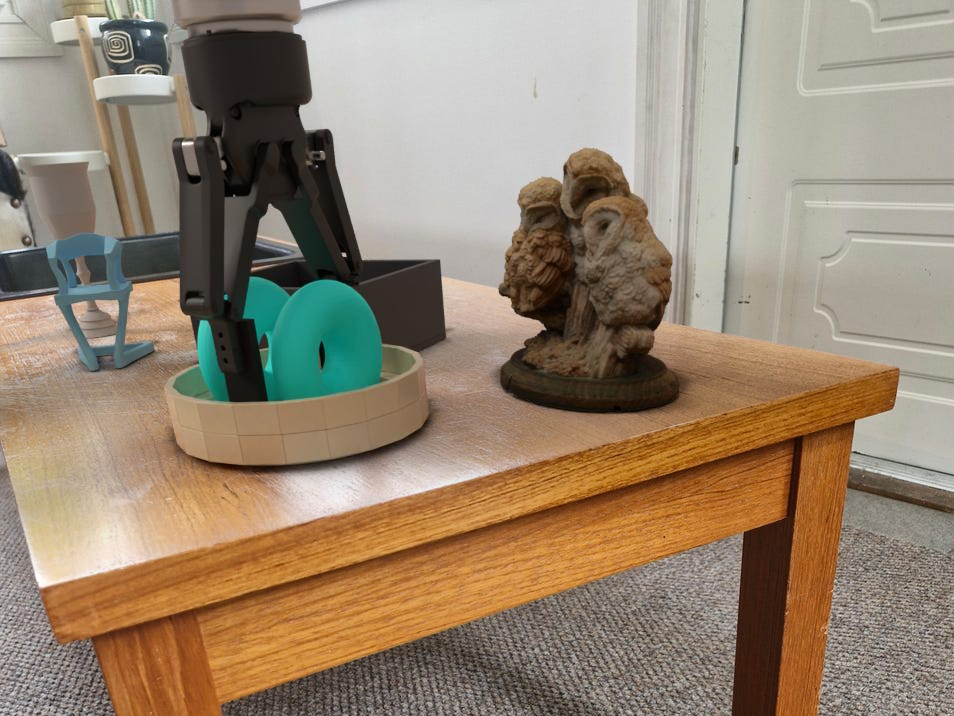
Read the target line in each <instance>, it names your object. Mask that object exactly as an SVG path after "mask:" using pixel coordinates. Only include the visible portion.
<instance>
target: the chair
mask: <svg viewBox="0 0 954 716" xmlns="http://www.w3.org/2000/svg"><path fill="white" fill-rule="evenodd" d="M45 250H46V255H47V261H48V264H49V266H50V269H51V271H52V273H53V274H54V276H55V278H56V281H57V285H58V293H56V294H55V295H53V299H54V303H55V306H57V307H58V308H59V311H60V312H61V314H62V315H63V317H64V320H65V321H66V323H67V325H68V327H69V329H70V331H71V334H73V335H72V336H74V338H75V340H76V342H77V344H78V346H79V348H78V349H77V354H78V358H79V360H80V361H81V362H82V363H83V364H84V365H85V366H86V367H87V368H88V370H89V371H90V372H92V371H93V372H94V371H98V370H99V369H100V365H99V362H98V357H99V356H110V355H113V357H112V359H113V364H114V368H117V369H121V368H124V367H126V366H128V365H129V364H131V363H132V362H135V361H136V360H138V359H140V358H143V357H145V356H146V355H148V354H150V353H152V352H154V351H155V348H156V347H155V345H154V341H152V340H150V341H140V342H131V343H126V342H125V341H126V332H127V324H128V323H127V322H128V313H129V305H130V304H129V302H130V297H131V293H132V292H133V291H134V287H133V281H132V280H127V279H126V278H125V275H124V273H123V271H122V251H123V243H122V242H121V240H119V239H116V238H113V237H111V236H108V235H103V234H100V233H99V234H98V233H94V234H93V233H81V234H77V235H74V236H71V237H69V238H67V239H64V240H57V241H56V240H54V241H53V242H52V243H50V244H47V245H46V246H45ZM82 256H84V257H87V256H104V259H105V261H106V262H105V263H106V280H107V283H106V284H95V285H94V284H93V285H92V286H82V285H78V281H77V277H76V273H75V271H74V269H73V267H72V266H71V264H70V262H69V261H71V260H75V258H78V257H82ZM58 260H59V261H60V262H61V264H62V266H63V269H64V271H65V274H66V275H65V276H66V277H65V276H64V274H63V273H62V271H61V269H60V268H59V265H58ZM66 279H67V280H66ZM93 300H95V301H117V302H118V315H117V324H116V326H117V333H116V334H115V340H114V341H115V343H114V344H110V345H101V346H99V345H98V346H92V347H91V344H90V342H89V341H88V338H86V337H85V335H84V334H83V332H82V330H81V328H80V326H79V322H78V320H77V317H76V316H75V314H74V310H73V306H72V305H73V304H78V303H82V302H87V301H93Z"/></svg>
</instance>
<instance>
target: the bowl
mask: <svg viewBox="0 0 954 716" xmlns="http://www.w3.org/2000/svg"><path fill="white" fill-rule="evenodd" d="M259 350H260V356H261V361H262V367H263V368H264V369H265V367H266V365H267V362H268V357H269V348H264V349H259ZM318 363H319V370H320V372H321V371H322V369H321V362H320V355H319V352H318ZM426 380H427V379H426V367H425V360H424V359H423V358H422V355H421V354H420V352H419V351H418V352H416V351H413V350H410V349H407V348H405V347H401V346H395V345H388V344H382V370H381V376H380V381H379V383H378V384H375V385H372V386H368V387H365V388H362V389H357V390H352V391H347V392H342V393H337V394H331V395H326V396H321V397H313V398H304V399H295V400H285V401H271V402H223V401H217V400H216V399H215V398H214V396H213V395H212V394H211V392H210V390H209V389H208V387H207V385H206V383H205V381H204V378H203V375H202V372H201V369H200V365H199V363H197V364H194V365H191V366H188V367H186V368H184V369H182V370H180V371H178V372H177V373H175V374H173V375H172V376H171V377H169V378H168V379H167V381H166V383H165V385H164V388H163V390H164V393H165V398H166V403H167V406H168V411H169V415H170V420H171V424H172V429H173V431H174V432H173V433H174V437H175V440H176V444H177V445H178V446H179V447H180V448H181V450H182V451H183V452H184V453H185V454H187V455H188V456H191V457H195V458H198V459H201V460H203V461H207V462H210V463H220V464H229V465H238V466H258V467H259V466H260V467H277V466H281V467H282V466H294V465H304V464H314V463H321V462H327V461H332V460H338V459H344V458H347V457H351V456H355V455H360V454H363V453H366V452H370V451H373V450H376V449H379V448H381V447H384V446H387V445H390V444H392V443H395V442H398V441H401V440H403V439H405V438H407V437H408V436H409V435H411V434H413V433H415V432H417V431H418V430H419V429H421V428H422V427H423V426H424V424H425V422H426V420H427V418H428V417H429V415H430V412H429V402H428V401H429V400H428V390H427V381H426Z"/></svg>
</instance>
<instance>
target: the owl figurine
mask: <svg viewBox="0 0 954 716" xmlns="http://www.w3.org/2000/svg"><path fill="white" fill-rule="evenodd" d="M562 171H563V177H562V182H561V181H560V180H558V179H556V178H554V177H552V176H541V177H538V178H537V179H535V180H532V181H530V182H528V184H526V185H524V186H522V188H520V189H519V190H520V191H519V193H518V197H517V200H516V204H517V205H518V206H519V208H520V213H519V217H520V222H519V226H518V228H517V229H516V230H515V231H513V235H512V237H511V245H510V246H509V247H508V248H507V250H506V251H505V253H504V260H505V263H504V270H505V272H504V275H503V282H501V283H499V285H498V288H497V289H498V294H499V295H500V296H501V297H505V298H507V299H510V302H511V305H510V308H511V309H513V312H514V313H515V314H516V315H518V316H520V317H522V318H526V319H531V320H533V321H538V322H539V323H540V324H541V325H543V327H544V328H545V329H540V332H539V333H537V334H536V335H535V336H534V337H529V338H526V339H524V340H523V345H524V347H522V348H519V349H518V350H516V351H514V352H513V354H512V355H511V356H510V358H509V359H508V360H507V361H506V362H504V363H503V364H502V365H501V367H500V372H499V374H500V375H499V376H500V377H499V382H500V385H501V386H502V387H503V389H505V390H506V391H508V390H509V391H510V392H511V394H513V396H514V397H516V398H519V399H522V400H525V401H528V402H531V403H534V404H538V405H541V406H545V407H551V408H558V409H562V410H569V411H578V412H588V413H589V412H594V413H595V412H597V413H603V412H604V413H605V412H606V413H607V412H612V411H614V409H615V406H616V407H617V406H618V407H619V410H620V411H621V412H632V411H634V412H635V411H641V410H644V409H649V408H655V407H659V406H660V405H665V404H669V403H671V402H673V401H674V400H675V399H676V398H678V396H679V391H680V390H679V389H680V380H679V377H678V376H677V374H675V372H674V371H672V369H669V368H668V367H667V364H666V363H665V362H664V361H663V360H661V359H659V358H658V357H655V356H653V355H651V354H649V353H650V351H651V350H652V349H653V348H654V345H655V339H656V337H655V331H656V330H657V329H658V328H659V327H660V325H661V322H662V321H663V318H664V316H665V312H666V306H667V305H668V304H669V303H670V299H671V295H672V292H673V281H672V280H671V277H672V266H673V264H674V263H673V254H671V252H670V251H669V249H668V248H667V247H666V245H665V244H664V243H663V242H662V241H661V240H660V239H659V238H658V236H657V234H656V233H655V231H654V228H653V227H652V226H653V225H652V223H651V222H650V220H649V219H647V218H648V215H649V207H648V205H647V203H646V201H645V200H644V199H643V198H642V197H640V196H638V195H637V194H635V193H634V192H633V193H632V191H631V188H630V183H629V181H628V179H627V177H626V176H625V173H624V170H623V166H622V165H620V164H619V163H618V162H616V161H615V160H614V159H613V156H612V155H610V154H609V153H607V152H605V151H603V150H600V149H598V148H595V147H592V148H590V147H589V148H588V147H582V148H581V149H579V150H577V151H575V152H573V153H571V154H569V156H568V158H567V160H566V161H565V162H564V163H563V166H562Z"/></svg>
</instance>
